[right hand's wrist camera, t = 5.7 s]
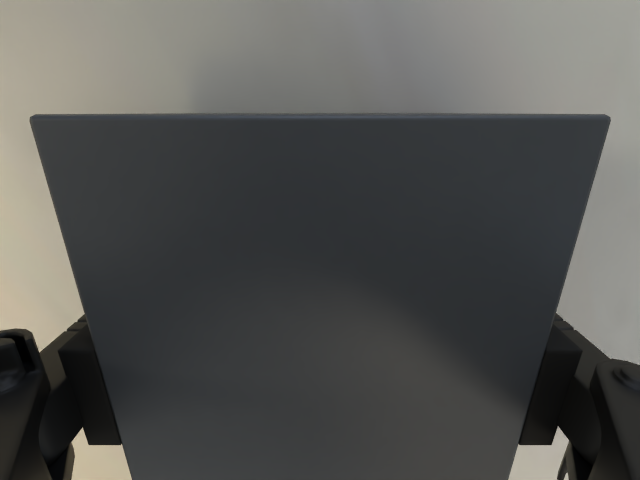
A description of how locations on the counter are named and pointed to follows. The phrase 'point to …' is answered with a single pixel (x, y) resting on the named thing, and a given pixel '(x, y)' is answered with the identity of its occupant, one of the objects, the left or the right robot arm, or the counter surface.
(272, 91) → the counter surface
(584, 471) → the right robot arm
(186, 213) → the wide beam
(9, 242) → the counter surface
